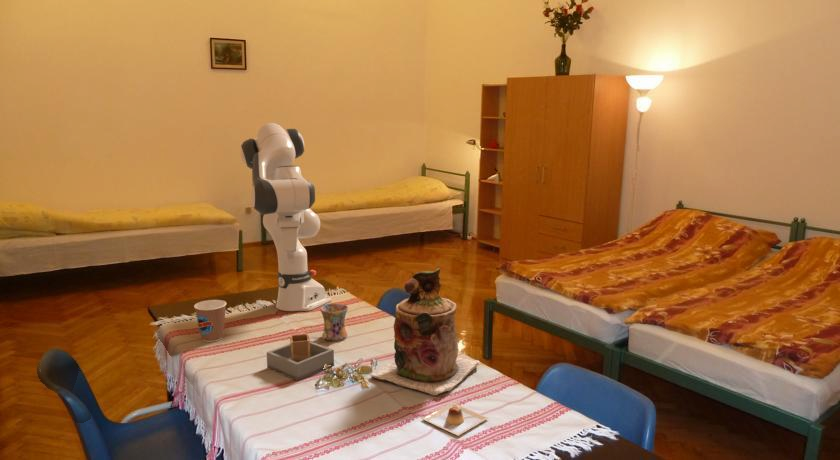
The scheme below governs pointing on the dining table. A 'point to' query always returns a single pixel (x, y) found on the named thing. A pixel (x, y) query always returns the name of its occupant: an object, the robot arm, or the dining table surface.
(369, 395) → the dining table surface
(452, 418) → the dessert
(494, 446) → the dining table surface
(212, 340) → the coffee cup
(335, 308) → the mug
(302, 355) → the square wooden cup
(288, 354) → the grey crate
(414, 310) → the cookie jar
